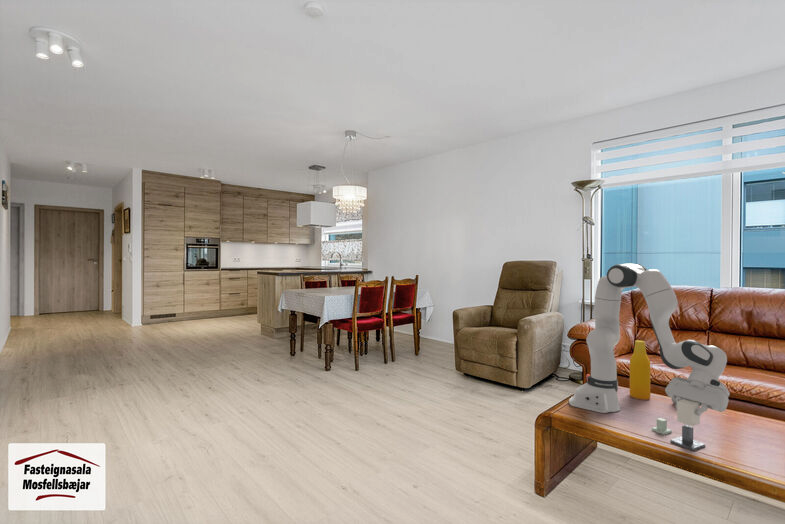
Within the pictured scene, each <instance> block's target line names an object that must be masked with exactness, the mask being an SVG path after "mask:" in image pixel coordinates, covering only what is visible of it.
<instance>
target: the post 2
mask: <svg viewBox="0 0 785 524" xmlns="http://www.w3.org/2000/svg"><path fill="white" fill-rule="evenodd" d="M670 443H671V444H674V445H676V446H678V447H681V448H684V449H686V448H687V450H689V449H690V450H689V451H691V450H692V452H695V451H698V450H700V449H703V448H706V444H705V443H703V442H701V441H698V440H695V439H694V426H689V425H686V424H684V425H682V426H681V436H677V437H674V438H672V439H670Z"/></svg>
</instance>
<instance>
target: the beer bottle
mask: <svg viewBox="0 0 785 524" xmlns="http://www.w3.org/2000/svg"><path fill="white" fill-rule="evenodd" d="M629 395H630V397H631V398H634V399H637V400H643V401H644V400H650V399H651V359H650V358H649V356H648V354H647V349H646V342H645V340H639V339H638V340H637V339H636V340H635V342H634V349H633V353H632V355H631V357H630V359H629Z"/></svg>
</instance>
